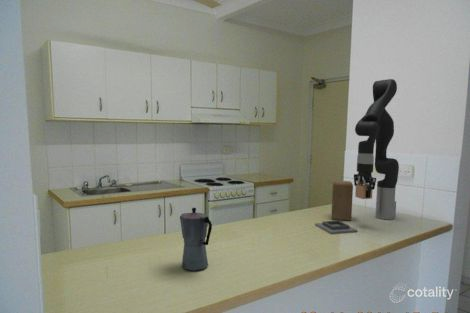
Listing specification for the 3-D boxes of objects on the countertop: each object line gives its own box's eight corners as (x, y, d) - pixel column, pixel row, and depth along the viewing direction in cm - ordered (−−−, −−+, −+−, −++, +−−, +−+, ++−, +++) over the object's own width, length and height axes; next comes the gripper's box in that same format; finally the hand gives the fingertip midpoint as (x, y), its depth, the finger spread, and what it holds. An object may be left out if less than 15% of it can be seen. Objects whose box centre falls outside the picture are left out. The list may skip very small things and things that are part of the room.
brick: (364, 196, 158) (365, 184, 158) (372, 198, 153) (372, 186, 152) (355, 196, 157) (355, 184, 156) (362, 199, 151) (363, 186, 151)
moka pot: (191, 256, 115) (191, 202, 113) (222, 268, 105) (223, 209, 104) (170, 264, 108) (170, 207, 106) (202, 278, 98) (202, 215, 96)
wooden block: (331, 219, 168) (333, 182, 166) (331, 215, 177) (333, 180, 176) (351, 221, 165) (353, 184, 163) (350, 216, 174) (351, 181, 173)
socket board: (339, 223, 160) (339, 218, 160) (357, 232, 147) (357, 226, 147) (315, 225, 157) (315, 220, 156) (331, 234, 143) (331, 228, 143)
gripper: (382, 163, 147) (380, 199, 149) (362, 161, 161) (360, 193, 162) (368, 164, 145) (367, 200, 147) (349, 161, 159) (348, 194, 160)
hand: (363, 196), depth 155 cm, fingers closed on brick, 5 cm apart
